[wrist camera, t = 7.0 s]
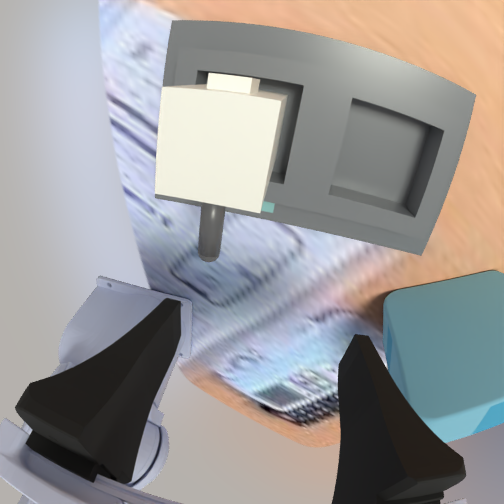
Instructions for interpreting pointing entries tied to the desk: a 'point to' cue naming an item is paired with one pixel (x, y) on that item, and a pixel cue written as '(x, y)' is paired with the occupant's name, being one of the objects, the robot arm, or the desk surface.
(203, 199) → the plug
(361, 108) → the jack panel
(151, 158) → the desk surface
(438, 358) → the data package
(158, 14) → the desk surface
